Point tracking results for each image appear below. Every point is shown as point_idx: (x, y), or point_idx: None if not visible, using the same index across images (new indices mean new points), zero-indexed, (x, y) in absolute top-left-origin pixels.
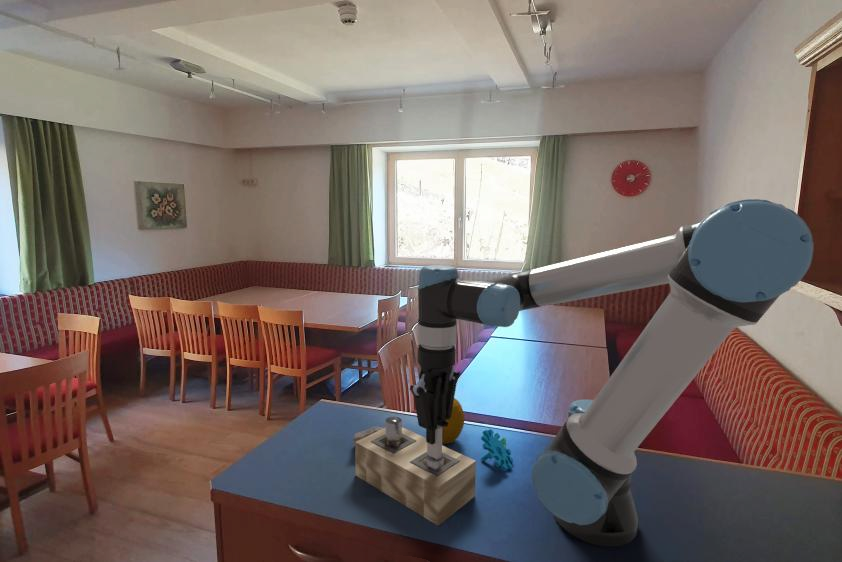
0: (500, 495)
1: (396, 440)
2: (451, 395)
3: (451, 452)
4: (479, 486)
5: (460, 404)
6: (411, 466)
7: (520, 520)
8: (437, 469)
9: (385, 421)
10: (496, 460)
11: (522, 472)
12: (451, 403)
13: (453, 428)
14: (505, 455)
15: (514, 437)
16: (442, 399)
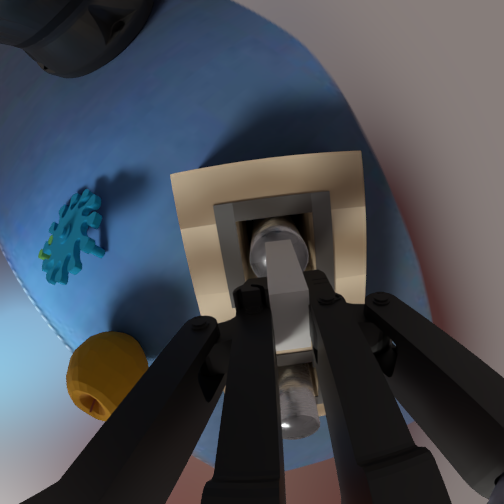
0: (152, 139)
1: (300, 378)
2: (142, 429)
3: (200, 257)
4: (164, 189)
5: (66, 378)
6: (346, 276)
7: (183, 63)
8: (289, 225)
9: (313, 431)
10: (91, 206)
11: (69, 173)
12: (160, 379)
13: (110, 346)
14: (65, 218)
15: (26, 266)
16: (276, 435)
